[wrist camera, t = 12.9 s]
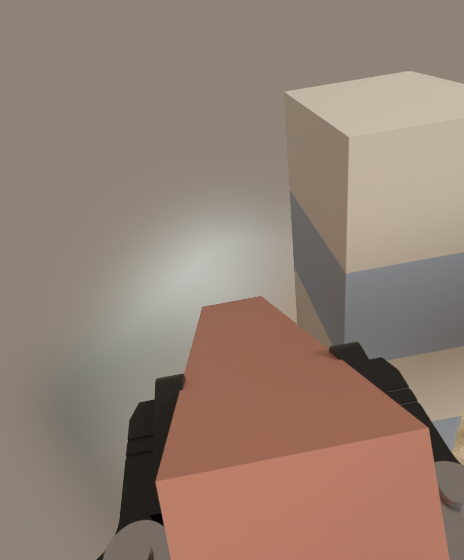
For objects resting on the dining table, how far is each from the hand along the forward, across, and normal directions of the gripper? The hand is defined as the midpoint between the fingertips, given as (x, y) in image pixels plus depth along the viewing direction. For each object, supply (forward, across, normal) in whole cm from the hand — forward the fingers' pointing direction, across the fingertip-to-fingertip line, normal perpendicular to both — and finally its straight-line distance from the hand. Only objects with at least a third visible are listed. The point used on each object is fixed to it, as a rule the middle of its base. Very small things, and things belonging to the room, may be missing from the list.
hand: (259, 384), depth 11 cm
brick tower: (+19, -12, +30) cm, 37 cm away
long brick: (+3, 0, +6) cm, 7 cm away
